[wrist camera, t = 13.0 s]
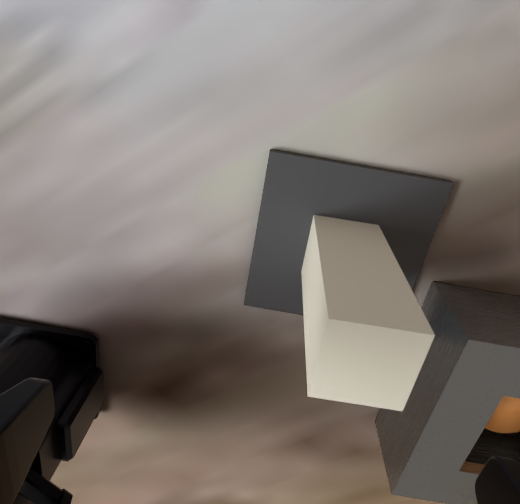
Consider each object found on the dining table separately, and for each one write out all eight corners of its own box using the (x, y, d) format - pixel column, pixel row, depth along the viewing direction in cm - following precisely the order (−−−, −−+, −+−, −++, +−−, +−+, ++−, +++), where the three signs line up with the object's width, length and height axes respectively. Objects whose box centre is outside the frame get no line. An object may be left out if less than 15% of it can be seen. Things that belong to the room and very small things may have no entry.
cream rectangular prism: (301, 271, 20) (307, 396, 13) (313, 214, 18) (328, 318, 11) (361, 281, 20) (402, 411, 13) (378, 224, 18) (435, 335, 11)
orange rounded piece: (451, 397, 23) (465, 427, 21) (475, 350, 21) (492, 378, 19) (510, 407, 23) (529, 438, 21) (539, 361, 21) (562, 390, 19)
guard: (375, 421, 24) (391, 494, 20) (432, 281, 20) (468, 339, 16) (536, 448, 25) (584, 526, 20) (630, 315, 20) (715, 381, 16)
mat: (244, 300, 21) (243, 304, 21) (270, 149, 18) (269, 151, 17) (394, 326, 21) (395, 331, 21) (450, 180, 18) (453, 183, 17)
